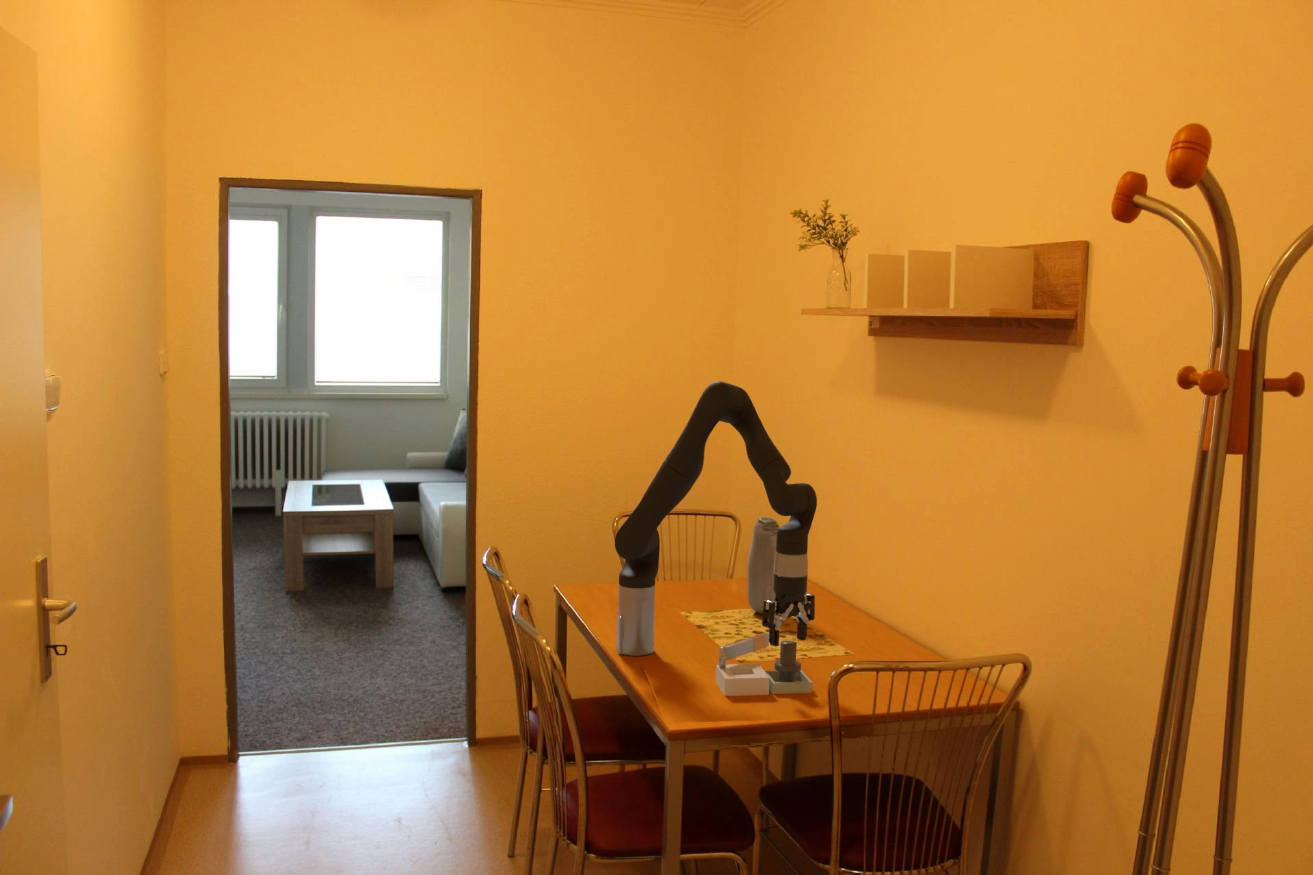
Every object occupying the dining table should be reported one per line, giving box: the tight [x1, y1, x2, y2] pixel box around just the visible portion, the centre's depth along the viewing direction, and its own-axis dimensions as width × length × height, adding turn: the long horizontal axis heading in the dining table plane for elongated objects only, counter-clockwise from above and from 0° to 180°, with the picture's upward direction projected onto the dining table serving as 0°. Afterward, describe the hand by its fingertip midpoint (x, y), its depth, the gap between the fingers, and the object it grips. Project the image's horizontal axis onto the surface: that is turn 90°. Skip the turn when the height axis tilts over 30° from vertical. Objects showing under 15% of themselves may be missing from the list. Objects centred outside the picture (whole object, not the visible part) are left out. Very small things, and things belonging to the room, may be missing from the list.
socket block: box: [715, 663, 770, 697], centre depth 240 cm, size 10×10×4 cm
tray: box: [764, 669, 813, 695], centre depth 242 cm, size 9×9×2 cm
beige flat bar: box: [718, 632, 770, 668], centre depth 248 cm, size 18×2×5 cm, turn 138°
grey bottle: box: [746, 517, 780, 615], centre depth 310 cm, size 10×10×28 cm
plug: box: [773, 640, 802, 682], centre depth 241 cm, size 6×6×10 cm
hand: (787, 642), depth 241 cm, fingers open, 8 cm apart
